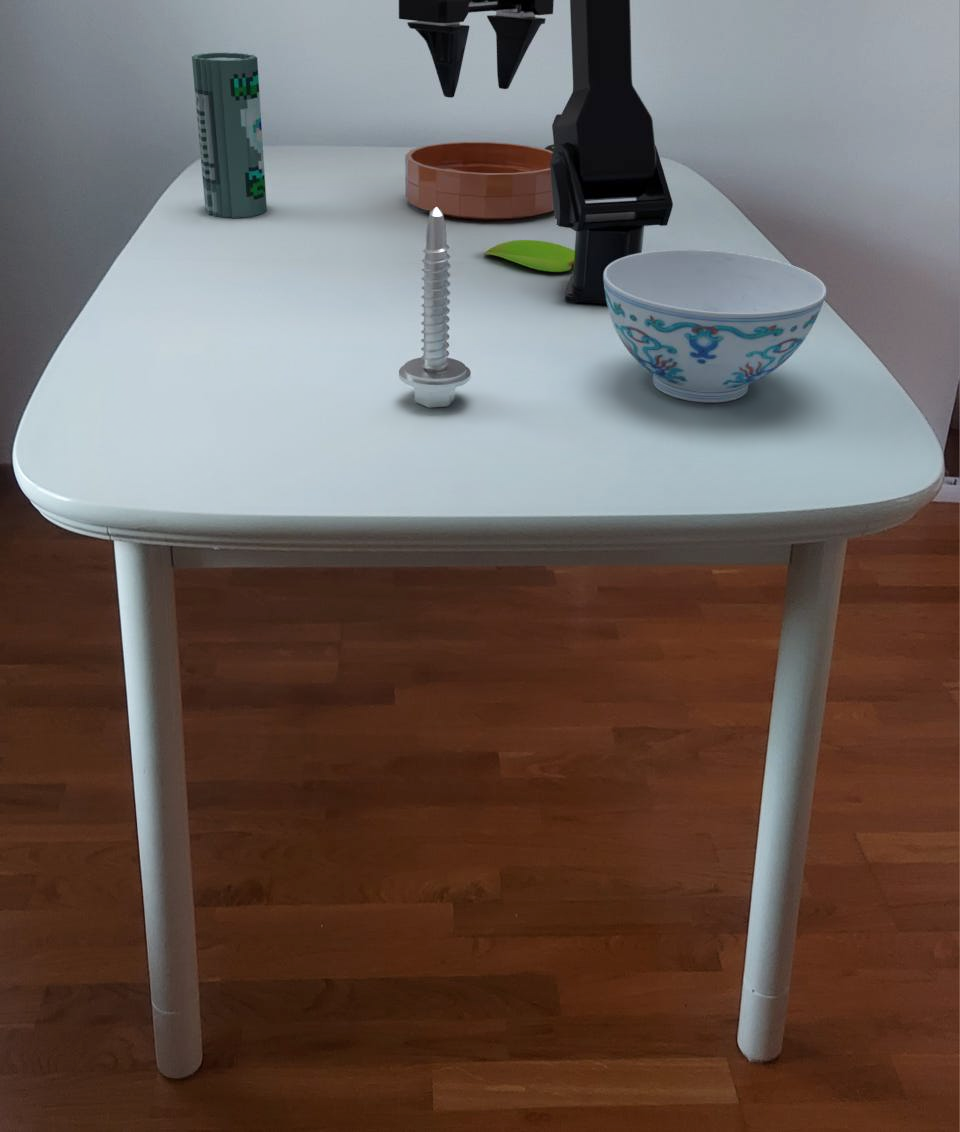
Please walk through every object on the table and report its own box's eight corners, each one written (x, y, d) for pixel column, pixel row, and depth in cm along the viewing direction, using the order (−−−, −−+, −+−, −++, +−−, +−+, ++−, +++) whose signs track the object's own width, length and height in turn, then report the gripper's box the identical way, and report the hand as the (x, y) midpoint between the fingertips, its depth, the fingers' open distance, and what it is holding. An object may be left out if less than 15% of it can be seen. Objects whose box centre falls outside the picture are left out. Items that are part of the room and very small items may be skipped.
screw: (432, 420, 77) (384, 399, 80) (484, 402, 80) (436, 382, 83) (434, 220, 71) (382, 205, 74) (491, 208, 74) (438, 194, 76)
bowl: (554, 228, 121) (557, 178, 119) (391, 217, 123) (390, 168, 121) (568, 191, 136) (571, 146, 133) (422, 182, 138) (422, 138, 135)
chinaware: (642, 435, 76) (654, 320, 72) (566, 356, 88) (573, 254, 84) (848, 417, 80) (870, 306, 76) (747, 343, 92) (761, 244, 88)
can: (271, 215, 122) (261, 60, 115) (212, 219, 120) (199, 61, 113) (258, 202, 127) (248, 52, 120) (202, 205, 125) (188, 53, 118)
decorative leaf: (524, 283, 105) (525, 273, 105) (477, 253, 112) (477, 243, 111) (596, 268, 108) (596, 258, 108) (546, 240, 115) (546, 230, 114)
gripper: (476, -79, 127) (472, 77, 134) (355, -80, 114) (359, 92, 122) (560, -75, 121) (552, 87, 128) (443, -75, 108) (442, 105, 116)
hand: (476, 92), depth 124 cm, fingers open, 9 cm apart
